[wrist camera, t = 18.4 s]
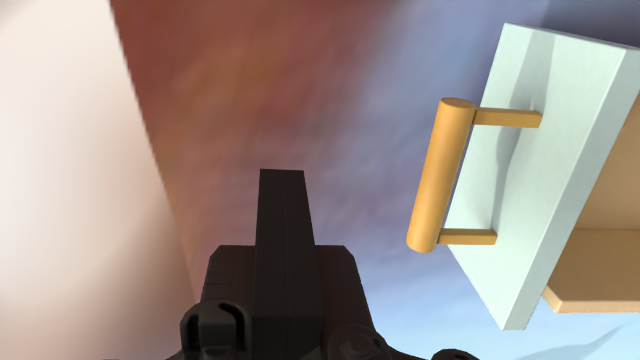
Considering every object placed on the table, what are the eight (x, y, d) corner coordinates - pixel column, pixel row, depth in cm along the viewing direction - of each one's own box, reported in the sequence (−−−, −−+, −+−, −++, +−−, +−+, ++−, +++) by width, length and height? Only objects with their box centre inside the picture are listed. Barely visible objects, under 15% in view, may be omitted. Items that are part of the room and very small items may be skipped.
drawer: (375, 234, 24) (412, 332, 17) (418, 13, 18) (499, 36, 12) (670, 240, 27) (797, 326, 20) (789, 50, 21) (1021, 86, 14)
